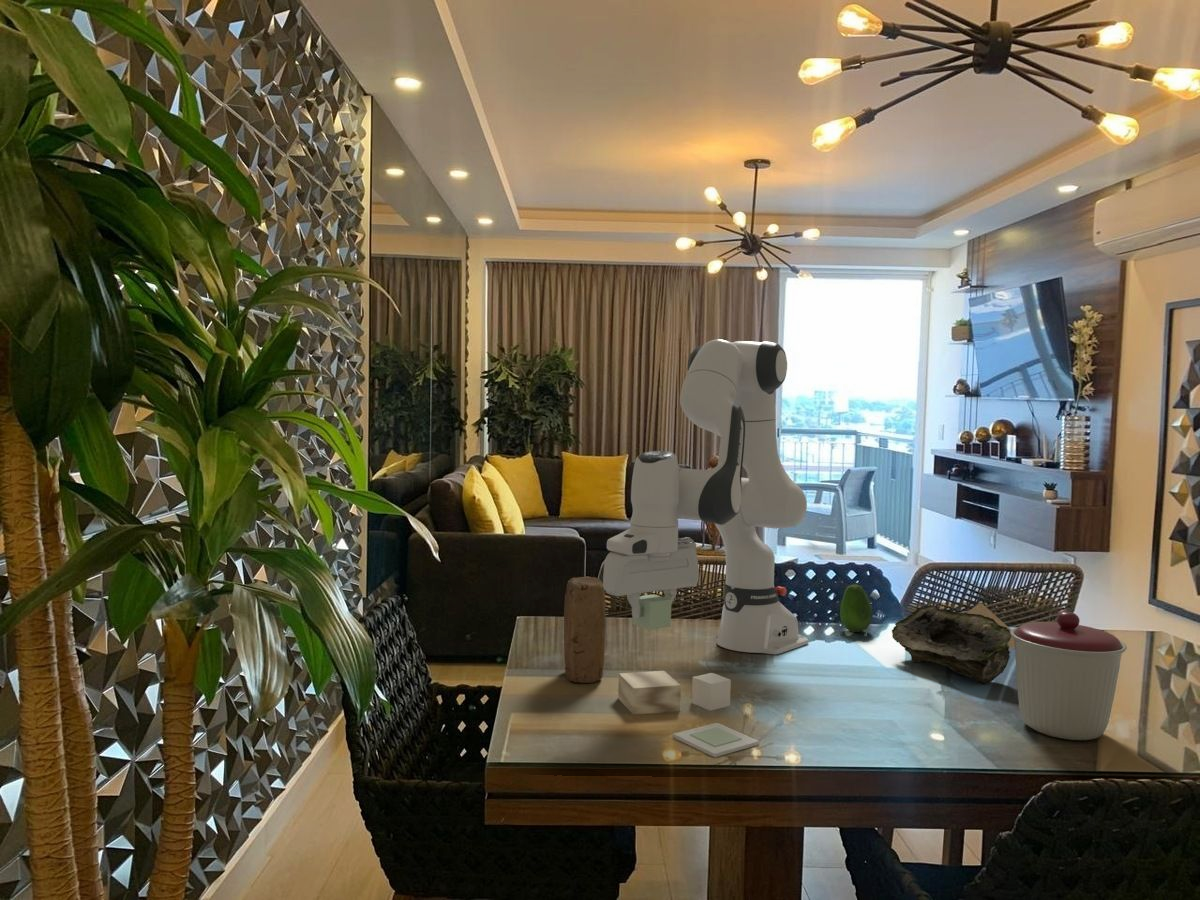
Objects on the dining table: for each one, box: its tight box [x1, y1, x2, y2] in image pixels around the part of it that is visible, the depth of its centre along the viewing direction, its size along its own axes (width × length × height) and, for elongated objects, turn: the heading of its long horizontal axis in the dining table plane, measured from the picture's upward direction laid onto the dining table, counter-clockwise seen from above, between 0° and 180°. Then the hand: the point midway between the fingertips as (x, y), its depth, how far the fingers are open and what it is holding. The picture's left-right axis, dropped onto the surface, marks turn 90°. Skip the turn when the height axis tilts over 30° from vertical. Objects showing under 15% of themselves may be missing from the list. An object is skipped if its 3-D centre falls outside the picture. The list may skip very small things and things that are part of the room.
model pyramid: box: [966, 601, 1015, 650], centre depth 218 cm, size 17×17×10 cm
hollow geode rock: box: [891, 604, 1012, 685], centre depth 191 cm, size 28×13×15 cm
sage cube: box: [631, 594, 672, 631], centre depth 164 cm, size 5×5×5 cm
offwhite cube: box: [691, 672, 732, 711], centre depth 166 cm, size 5×5×5 cm
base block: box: [617, 670, 682, 715], centre depth 165 cm, size 9×9×5 cm
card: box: [672, 722, 760, 758], centre depth 148 cm, size 10×10×1 cm
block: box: [563, 576, 606, 684], centre depth 180 cm, size 11×8×20 cm
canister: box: [1010, 611, 1128, 741], centre depth 157 cm, size 18×18×21 cm
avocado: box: [839, 583, 873, 633], centre depth 223 cm, size 8×8×12 cm
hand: (651, 614), depth 164 cm, fingers closed on sage cube, 5 cm apart
